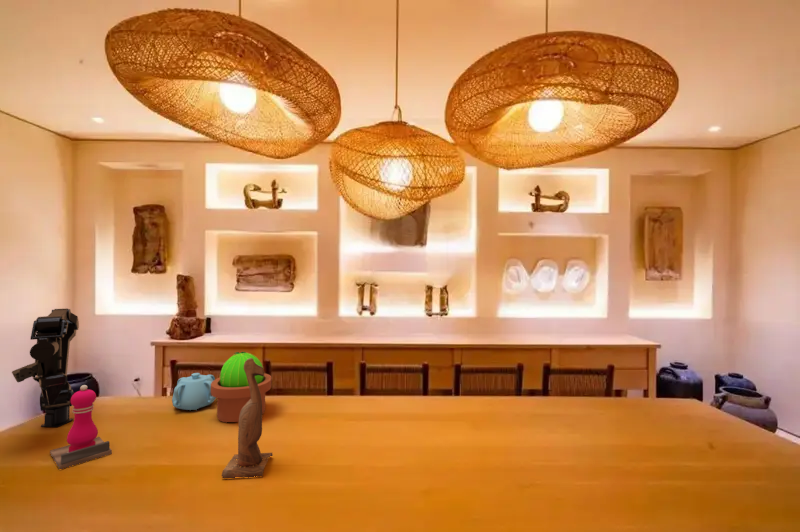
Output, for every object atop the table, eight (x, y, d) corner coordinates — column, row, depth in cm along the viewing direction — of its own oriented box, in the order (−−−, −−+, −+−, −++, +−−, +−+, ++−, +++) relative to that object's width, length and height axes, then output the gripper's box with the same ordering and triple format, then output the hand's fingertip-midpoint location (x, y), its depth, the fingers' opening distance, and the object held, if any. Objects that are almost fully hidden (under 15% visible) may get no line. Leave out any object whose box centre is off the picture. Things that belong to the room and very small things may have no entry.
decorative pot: (213, 411, 149) (214, 377, 149) (167, 415, 143) (168, 380, 144) (219, 397, 164) (219, 367, 164) (177, 401, 159) (178, 369, 159)
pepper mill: (70, 458, 108) (72, 390, 108) (63, 451, 112) (64, 385, 112) (100, 449, 114) (102, 384, 114) (93, 442, 118) (94, 380, 118)
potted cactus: (267, 423, 138) (268, 356, 138) (203, 428, 133) (204, 359, 133) (273, 402, 159) (274, 344, 159) (218, 406, 154) (219, 346, 154)
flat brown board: (49, 454, 113) (50, 442, 113) (99, 440, 123) (99, 429, 123) (59, 470, 105) (59, 457, 105) (111, 453, 114) (111, 441, 114)
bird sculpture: (265, 479, 102) (271, 363, 103) (220, 481, 100) (226, 363, 101) (272, 458, 113) (277, 354, 114) (232, 460, 111) (238, 354, 112)
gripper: (10, 354, 122) (9, 401, 122) (18, 363, 110) (17, 415, 110) (56, 348, 130) (55, 392, 130) (68, 356, 119) (67, 405, 119)
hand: (48, 401), depth 122 cm, fingers open, 9 cm apart
